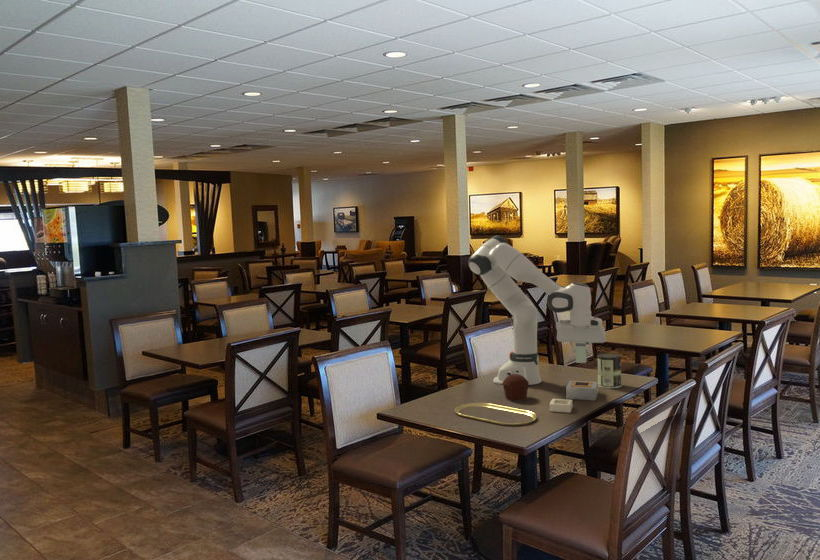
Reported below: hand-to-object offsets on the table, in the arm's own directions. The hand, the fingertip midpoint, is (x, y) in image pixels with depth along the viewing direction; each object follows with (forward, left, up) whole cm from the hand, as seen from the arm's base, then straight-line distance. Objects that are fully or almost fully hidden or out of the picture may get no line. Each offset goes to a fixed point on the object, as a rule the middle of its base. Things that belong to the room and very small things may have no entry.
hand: (581, 352), depth 275 cm
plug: (0, 0, -4) cm, 4 cm away
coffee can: (+10, +20, -19) cm, 30 cm away
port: (0, 0, -19) cm, 19 cm away
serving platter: (-30, -36, -20) cm, 51 cm away
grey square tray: (-6, -22, -19) cm, 30 cm away
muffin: (-27, -9, -19) cm, 34 cm away
